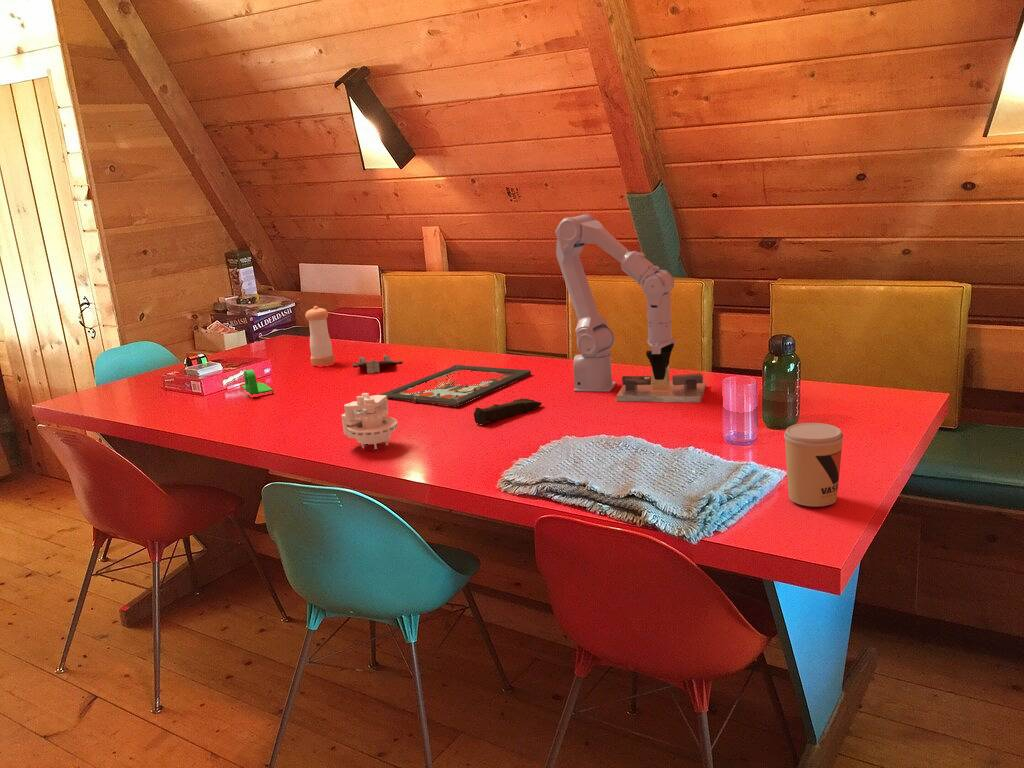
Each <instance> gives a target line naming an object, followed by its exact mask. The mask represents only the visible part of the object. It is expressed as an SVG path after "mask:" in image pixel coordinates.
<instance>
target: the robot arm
mask: <svg viewBox="0 0 1024 768" xmlns="http://www.w3.org/2000/svg"><path fill="white" fill-rule="evenodd" d="M554 234H555V236H556V248H555V249H556V250H555V255H556V259H557V262H558V265H559V267H560V271H561V274H562V277H563V280H564V282H565V285H566V286H565V287H566V289H567V292H568V294H569V297H570V301H571V304H572V306H573V309H574V313H575V316H576V318H577V324H576V327H575V330H574V331H575V334H576V348H577V350H578V352H579V353H580V354H575V355H574V358H573V367H572V368H573V380H574V381H573V384H574V390H573V391H574V392H602V393H603V392H605V393H607V392H608V393H609V392H611V391H612V390H613V389H614V387H615V386H616V384H617V382H616V381H613V377H612V357H611V349H612V346H613V345H614V343H615V334H614V331H613V329H611V327H610V326H609V325H608V323H607V321H606V318H604V317H603V316H602V315H600V314H599V311H598V308H597V305H596V302H595V299H594V296H593V293H592V290H591V287H590V283H589V282H588V278H587V275H586V271H585V270H584V266H583V263H582V260H581V257H580V254H581V253H582V251H583V248H584V247H585V246H586V244H590V245H591V244H595V245H596V246H597V247H599V248H600V249H601V250H603V251H604V252H606V253H607V254H608V255H609V256H611V257H612V258H614V259H615V260H617V261H618V262H620V268H621V271H623V272H624V273H625V274H626V275H627V276H629V277H630V278H631V279H633V280H634V281H635V282H636V283H637V284H638V285H639V286H641V290H642V293H643V294H644V295H645V297H646V316H647V344H648V346H649V347H650V349H651V350H646V352H645V356H646V357H647V359H648V360H649V363H650V365H651V371H652V370H653V374H654V378H655V380H664V377H665V370H666V364H669V365H670V358H671V354H672V351H673V349H674V346H675V344H676V343H678V338H673V333H672V332H673V331H672V329H673V328H672V326H673V325H672V301H671V299H672V298H671V295H672V294H671V291H672V290H673V289H674V285H675V279H674V277H673V275H672V274H671V273H670V272H669V271H668V270H667V269H660V267H659V266H658V265H655V264H653V263H652V262H651V261H650V260H648V259H647V258H646V254H645V253H644V252H642V251H641V252H638V251H636V250H634V251H633V250H632V251H630V250H628V248H627V247H625V245H623V244H622V243H621V242H620V241H619V240H617V239H616V238H615V237H614V236H613V235H612V233H610V232H609V231H608V230H607V229H606V228H605V227H604V226H603V224H602V223H601V221H599V220H596V219H595V218H594V217H593V216H592V215H591V214H588V213H583V214H579V215H577V216H571V217H570V216H569V217H565V218H563V219H562V220H561V221H559V223H558V225H557V227H556V229H555V231H554Z"/></svg>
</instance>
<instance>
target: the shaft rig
mask: <svg viewBox="0 0 1024 768" xmlns="http://www.w3.org/2000/svg"><path fill="white" fill-rule="evenodd" d="M671 377H672V380H670V386H669V388H668V390H652V375H623V376H622V379H621V382H622V386H621V388H620V390H619V391H618V393H617V394H616V397H615V398H616V402H624V403H625V402H627V403H628V402H629V403H637V402H638V403H686V404H687V403H690V404H691V403H693V404H697V403H698V404H699V403H701V402H702V399H703V396H704V392H705V389H706V385H707V384H706V380H704V377H703V374H702V373H701V372H700V373H698V372H697V373H689V374H687V373H686V374H678V375H676V374H675V375H672V376H671Z"/></svg>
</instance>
